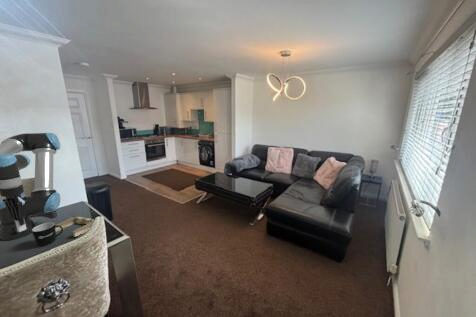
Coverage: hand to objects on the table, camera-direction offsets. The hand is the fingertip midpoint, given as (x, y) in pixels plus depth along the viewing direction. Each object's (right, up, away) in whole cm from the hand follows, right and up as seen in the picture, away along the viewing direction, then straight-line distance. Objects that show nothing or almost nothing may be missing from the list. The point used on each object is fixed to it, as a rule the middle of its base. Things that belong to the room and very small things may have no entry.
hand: (22, 230), depth 99 cm
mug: (+2, -11, +13) cm, 17 cm away
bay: (+7, -8, +25) cm, 27 cm away
